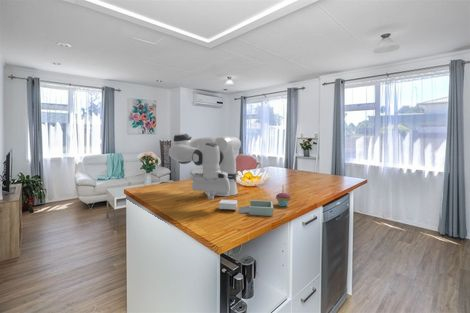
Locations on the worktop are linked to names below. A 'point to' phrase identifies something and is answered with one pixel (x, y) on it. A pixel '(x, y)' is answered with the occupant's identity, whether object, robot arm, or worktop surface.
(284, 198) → the cupcake
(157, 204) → the worktop surface
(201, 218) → the worktop surface
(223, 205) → the white rectangular block
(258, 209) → the dock
